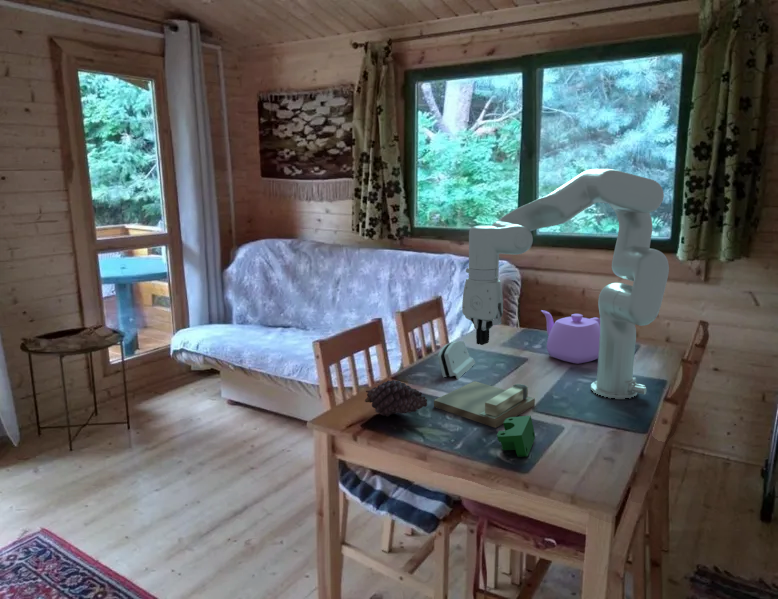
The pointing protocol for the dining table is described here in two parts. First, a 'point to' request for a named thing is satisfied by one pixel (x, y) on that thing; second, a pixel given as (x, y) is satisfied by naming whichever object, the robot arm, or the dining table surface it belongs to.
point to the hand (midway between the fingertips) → (482, 343)
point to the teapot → (573, 338)
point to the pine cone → (395, 398)
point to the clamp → (517, 435)
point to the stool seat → (479, 403)
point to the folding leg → (506, 399)
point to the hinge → (455, 359)
